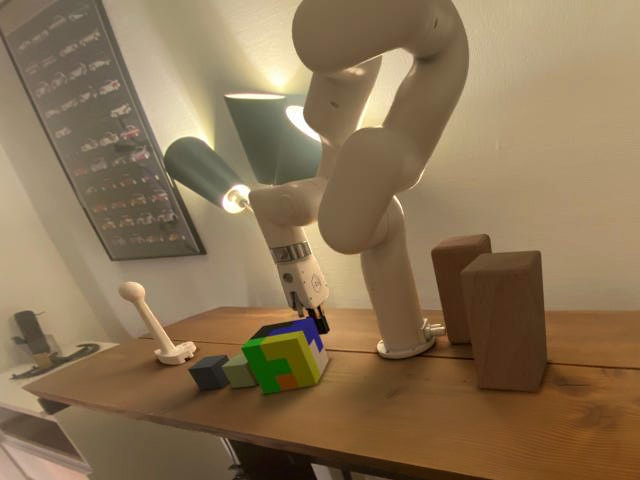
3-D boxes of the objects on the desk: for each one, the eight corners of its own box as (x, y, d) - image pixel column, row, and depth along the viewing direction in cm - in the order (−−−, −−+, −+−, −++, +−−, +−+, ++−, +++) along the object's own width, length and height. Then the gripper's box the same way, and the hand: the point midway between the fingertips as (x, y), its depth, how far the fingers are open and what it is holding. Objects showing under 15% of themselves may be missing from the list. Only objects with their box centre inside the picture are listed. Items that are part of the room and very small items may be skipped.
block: (494, 344, 76) (480, 244, 66) (447, 345, 78) (428, 249, 69) (501, 323, 84) (490, 232, 75) (459, 325, 87) (442, 237, 77)
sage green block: (269, 372, 79) (259, 352, 77) (255, 385, 75) (244, 364, 72) (247, 374, 80) (237, 354, 77) (232, 387, 75) (221, 366, 73)
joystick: (154, 360, 94) (104, 284, 85) (185, 346, 100) (142, 274, 90) (175, 366, 89) (125, 286, 79) (207, 351, 95) (163, 274, 85)
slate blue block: (237, 374, 80) (226, 354, 78) (222, 387, 76) (210, 366, 74) (216, 376, 81) (204, 356, 79) (200, 389, 77) (187, 369, 74)
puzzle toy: (329, 359, 80) (312, 317, 76) (316, 384, 72) (297, 338, 67) (282, 368, 80) (262, 325, 75) (264, 394, 71) (240, 348, 66)
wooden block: (548, 361, 67) (541, 249, 57) (537, 393, 59) (527, 269, 49) (495, 359, 70) (480, 252, 61) (478, 389, 62) (458, 272, 53)
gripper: (291, 259, 69) (325, 346, 78) (323, 242, 82) (349, 318, 91) (254, 265, 70) (291, 350, 79) (291, 246, 83) (320, 321, 92)
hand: (322, 333), depth 85 cm, fingers closed
